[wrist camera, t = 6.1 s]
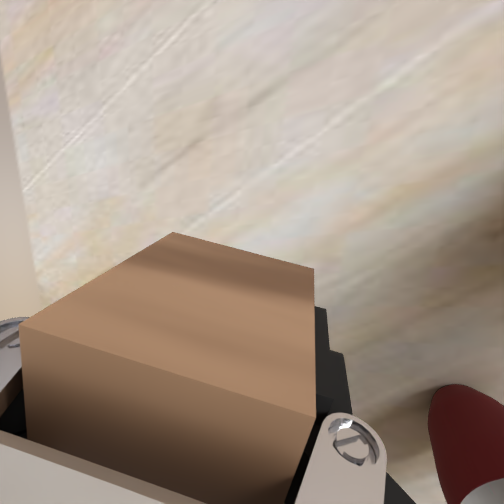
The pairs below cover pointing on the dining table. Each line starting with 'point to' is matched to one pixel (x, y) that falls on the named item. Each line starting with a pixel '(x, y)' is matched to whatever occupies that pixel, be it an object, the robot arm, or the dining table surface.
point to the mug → (468, 445)
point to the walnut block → (180, 371)
